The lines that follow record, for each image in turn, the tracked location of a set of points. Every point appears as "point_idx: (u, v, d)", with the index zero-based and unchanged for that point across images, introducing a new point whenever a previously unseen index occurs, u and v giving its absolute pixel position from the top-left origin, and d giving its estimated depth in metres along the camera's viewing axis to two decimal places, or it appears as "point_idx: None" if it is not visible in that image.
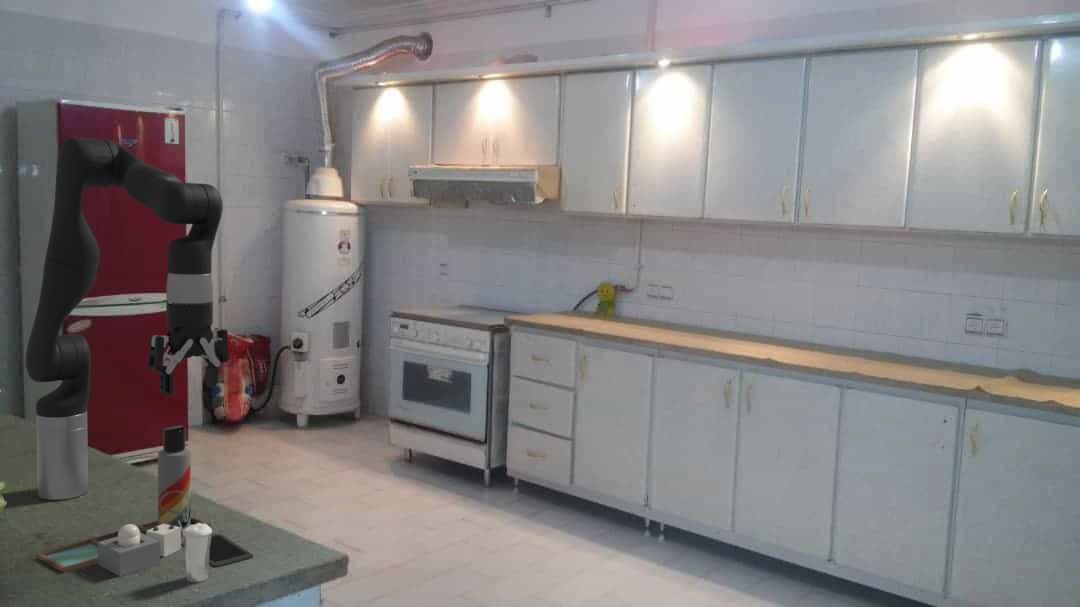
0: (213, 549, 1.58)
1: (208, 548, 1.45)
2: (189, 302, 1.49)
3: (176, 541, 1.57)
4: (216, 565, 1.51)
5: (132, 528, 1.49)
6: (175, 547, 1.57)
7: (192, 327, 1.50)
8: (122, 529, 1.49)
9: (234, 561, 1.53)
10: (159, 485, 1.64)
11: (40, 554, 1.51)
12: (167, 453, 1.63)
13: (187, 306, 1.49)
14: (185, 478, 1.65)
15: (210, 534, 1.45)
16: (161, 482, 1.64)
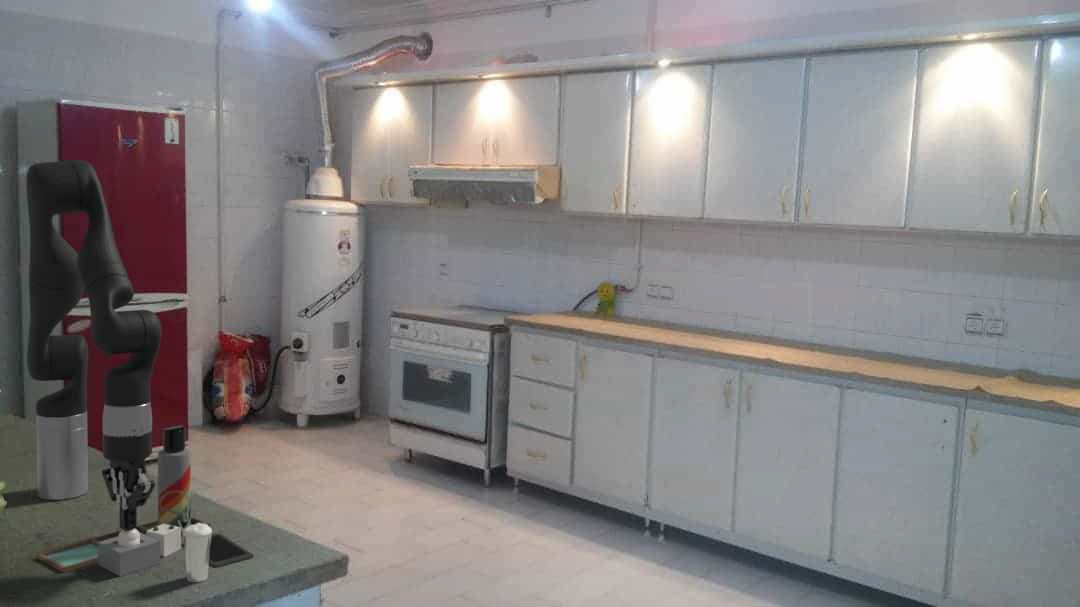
0: (213, 549, 1.58)
1: (208, 548, 1.45)
2: (151, 428, 1.49)
3: (176, 541, 1.57)
4: (216, 565, 1.51)
5: (132, 531, 1.49)
6: (175, 547, 1.57)
7: None
8: (122, 532, 1.49)
9: (234, 561, 1.53)
10: (159, 485, 1.64)
11: (40, 554, 1.51)
12: (167, 453, 1.63)
13: (151, 433, 1.49)
14: (185, 478, 1.65)
15: (210, 534, 1.45)
16: (161, 482, 1.64)
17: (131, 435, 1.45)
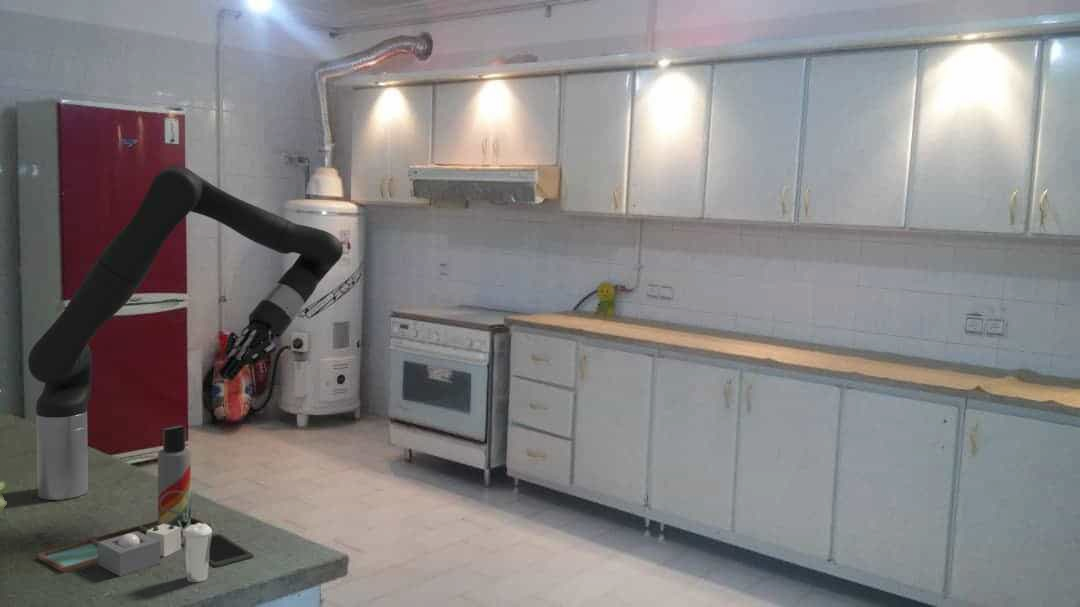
0: (213, 549, 1.58)
1: (208, 548, 1.45)
2: (291, 322, 1.82)
3: (176, 541, 1.57)
4: (216, 565, 1.51)
5: (132, 537, 1.49)
6: (175, 547, 1.57)
7: (277, 338, 1.80)
8: (122, 538, 1.49)
9: (234, 561, 1.53)
10: (159, 485, 1.64)
11: (40, 554, 1.51)
12: (167, 453, 1.63)
13: None
14: (185, 478, 1.65)
15: (210, 534, 1.45)
16: (161, 482, 1.64)
17: (283, 309, 1.78)
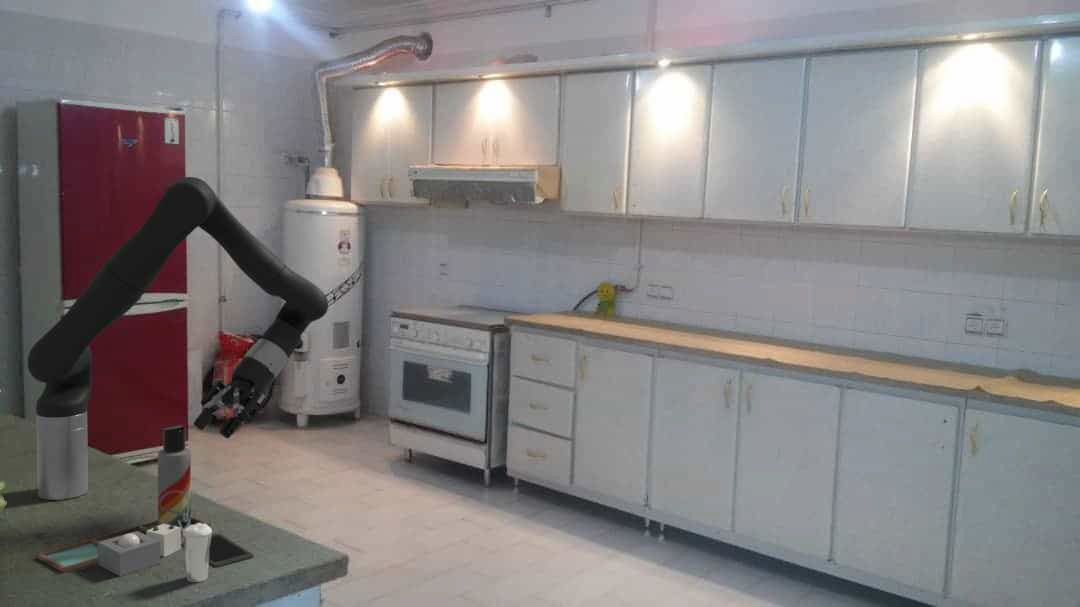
0: (213, 549, 1.58)
1: (208, 548, 1.45)
2: None
3: (176, 541, 1.57)
4: (217, 565, 1.51)
5: (132, 537, 1.49)
6: (175, 547, 1.57)
7: None
8: (122, 538, 1.49)
9: (234, 561, 1.53)
10: (159, 485, 1.64)
11: (40, 554, 1.51)
12: (167, 453, 1.63)
13: None
14: (185, 478, 1.65)
15: (210, 534, 1.45)
16: (161, 482, 1.64)
17: (266, 366, 1.76)
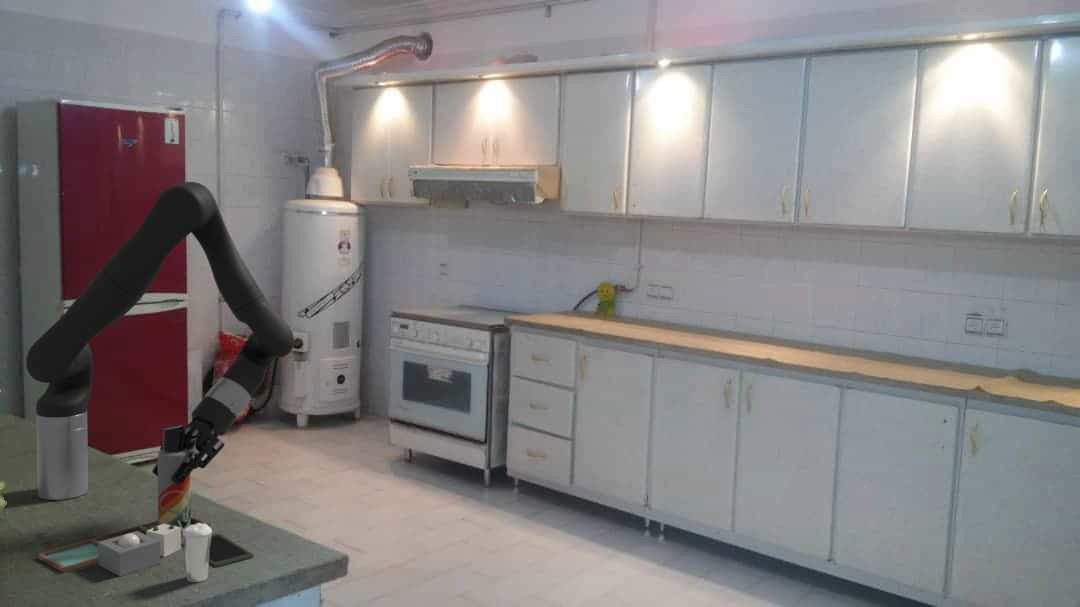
0: (213, 549, 1.58)
1: (208, 548, 1.45)
2: (237, 417, 1.74)
3: (176, 541, 1.57)
4: (217, 565, 1.51)
5: (132, 537, 1.49)
6: (175, 547, 1.57)
7: (222, 435, 1.72)
8: (122, 538, 1.49)
9: (235, 561, 1.53)
10: (159, 485, 1.64)
11: (40, 554, 1.51)
12: (167, 453, 1.63)
13: None
14: None
15: (210, 534, 1.45)
16: (161, 482, 1.64)
17: (227, 406, 1.70)
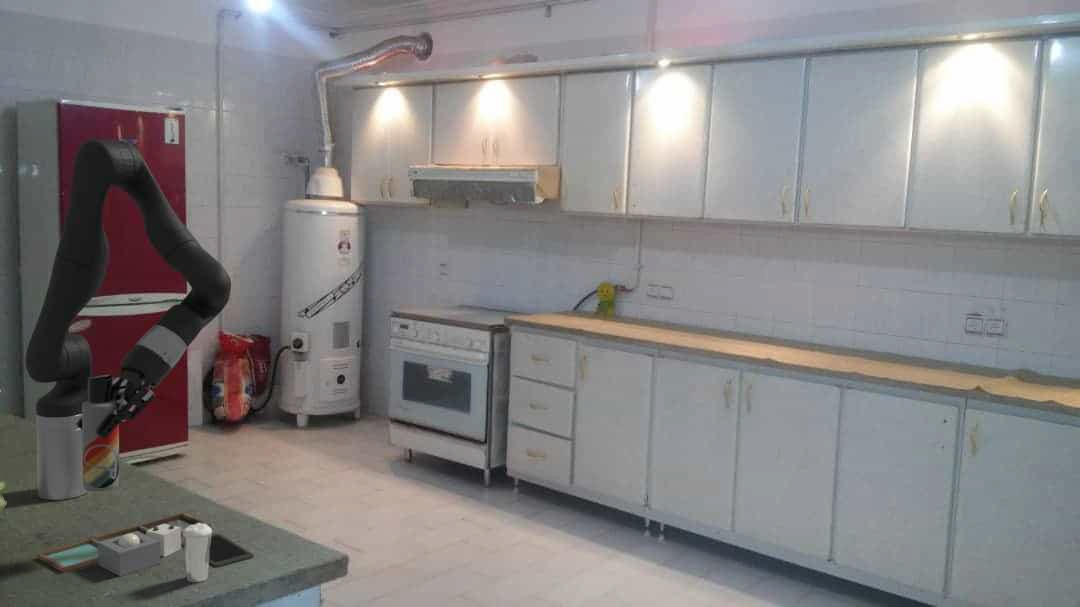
0: (213, 549, 1.58)
1: (208, 548, 1.45)
2: (171, 368, 1.61)
3: (176, 541, 1.57)
4: (217, 565, 1.51)
5: (132, 537, 1.49)
6: (175, 547, 1.57)
7: None
8: (122, 538, 1.49)
9: (235, 561, 1.53)
10: (83, 438, 1.51)
11: (40, 554, 1.51)
12: (92, 404, 1.51)
13: (169, 371, 1.60)
14: None
15: (210, 534, 1.45)
16: (85, 435, 1.51)
17: (160, 355, 1.57)
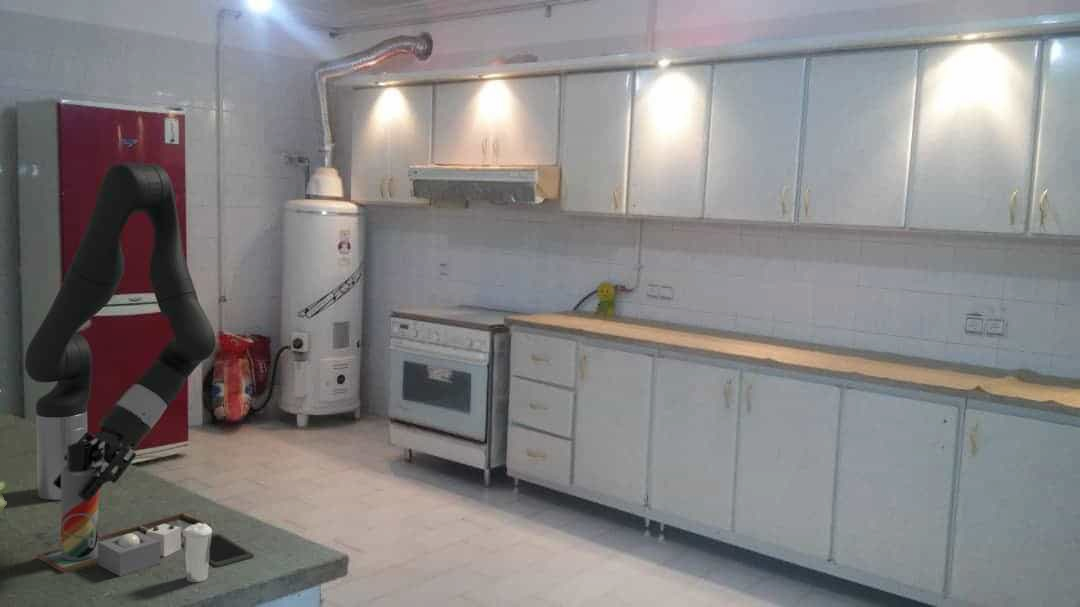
0: (213, 549, 1.58)
1: (208, 548, 1.45)
2: None
3: (176, 541, 1.57)
4: (217, 565, 1.51)
5: (132, 537, 1.49)
6: (175, 547, 1.57)
7: (134, 447, 1.57)
8: (122, 538, 1.49)
9: (235, 561, 1.53)
10: (62, 507, 1.50)
11: (40, 554, 1.51)
12: (70, 472, 1.49)
13: (148, 431, 1.58)
14: (91, 499, 1.51)
15: (210, 534, 1.45)
16: (64, 504, 1.49)
17: (138, 415, 1.55)
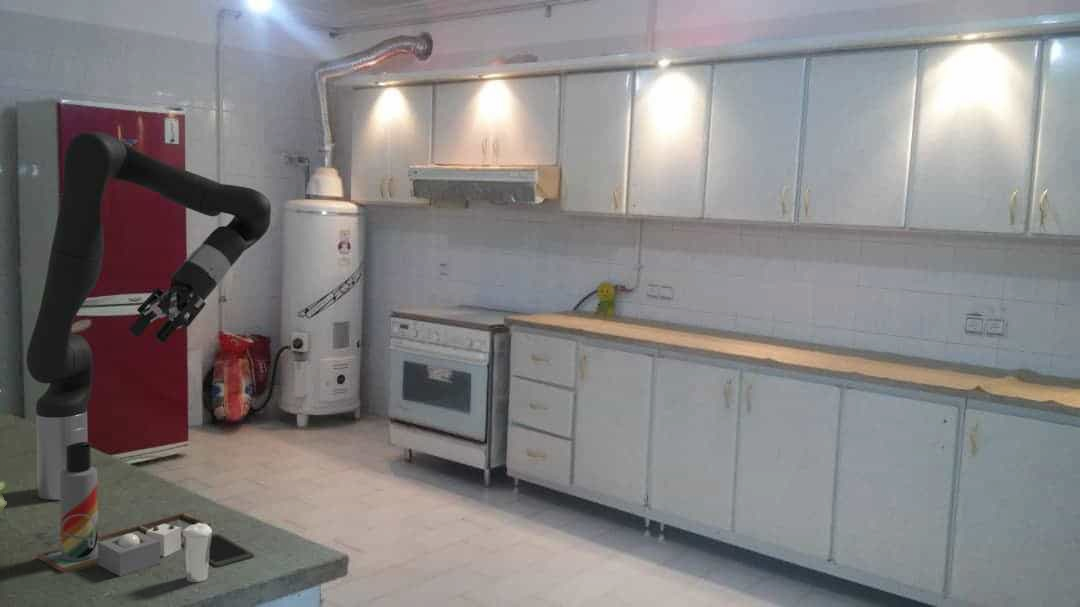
0: (213, 549, 1.58)
1: (208, 548, 1.45)
2: None
3: (176, 541, 1.57)
4: (218, 565, 1.51)
5: (132, 537, 1.49)
6: (175, 547, 1.57)
7: None
8: (122, 538, 1.49)
9: (235, 561, 1.53)
10: (61, 508, 1.50)
11: (40, 554, 1.51)
12: (69, 473, 1.49)
13: (214, 287, 1.71)
14: (90, 500, 1.50)
15: (210, 534, 1.45)
16: (63, 505, 1.49)
17: (206, 270, 1.68)
